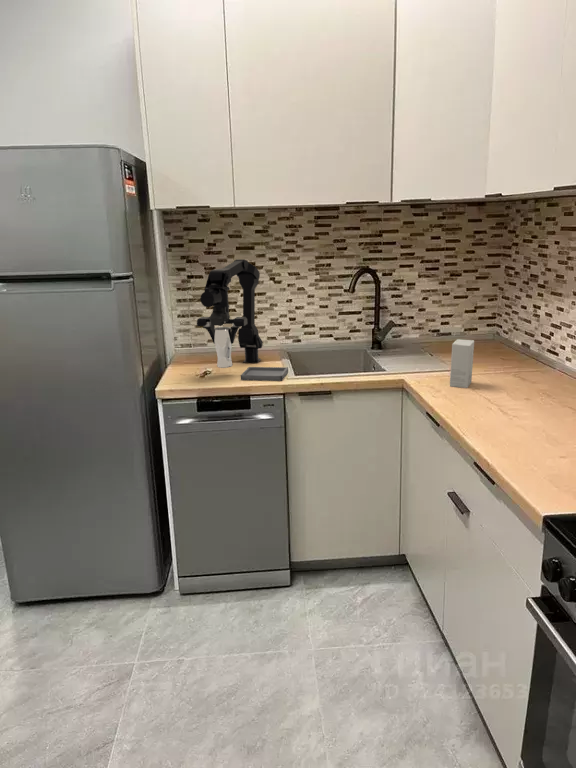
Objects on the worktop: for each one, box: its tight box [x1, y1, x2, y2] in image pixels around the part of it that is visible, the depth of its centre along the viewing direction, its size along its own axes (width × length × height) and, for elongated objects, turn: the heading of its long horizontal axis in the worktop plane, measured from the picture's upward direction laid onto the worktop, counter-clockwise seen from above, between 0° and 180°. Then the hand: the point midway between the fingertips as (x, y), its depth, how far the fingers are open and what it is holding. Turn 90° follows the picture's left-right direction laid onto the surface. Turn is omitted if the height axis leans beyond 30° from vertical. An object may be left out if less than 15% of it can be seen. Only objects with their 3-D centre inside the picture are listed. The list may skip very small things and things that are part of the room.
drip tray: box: [240, 366, 289, 382], centre depth 229 cm, size 13×16×2 cm
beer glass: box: [213, 326, 233, 369], centre depth 229 cm, size 7×7×15 cm
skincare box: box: [449, 338, 475, 389], centre depth 207 cm, size 8×7×16 cm
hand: (223, 343), depth 228 cm, fingers closed on beer glass, 7 cm apart
